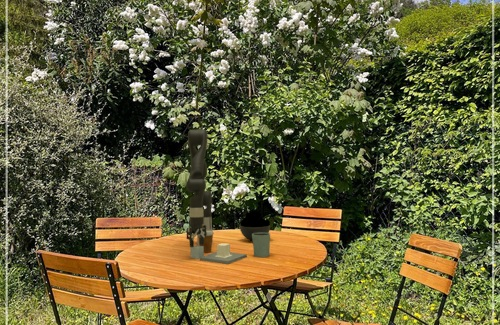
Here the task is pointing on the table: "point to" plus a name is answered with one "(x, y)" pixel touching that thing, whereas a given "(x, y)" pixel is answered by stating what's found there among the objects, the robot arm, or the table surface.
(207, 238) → the disposable coffee cup
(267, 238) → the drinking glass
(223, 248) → the cream block
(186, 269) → the table surface
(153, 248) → the table surface
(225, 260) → the board
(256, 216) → the coal bowl
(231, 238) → the table surface
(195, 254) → the blue grey block
